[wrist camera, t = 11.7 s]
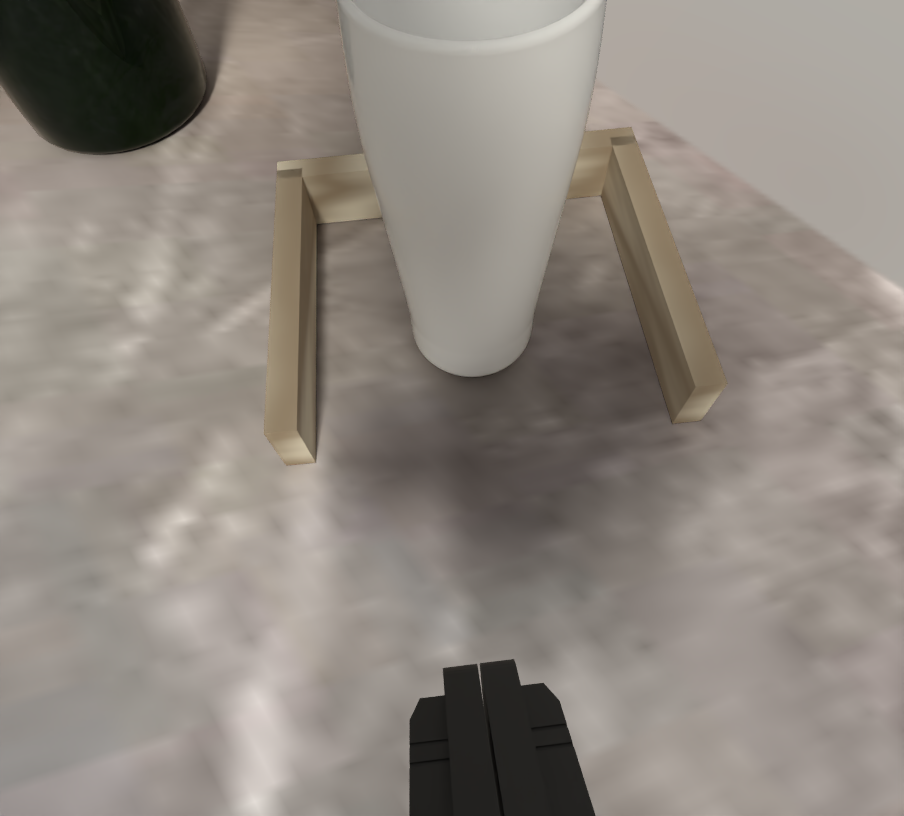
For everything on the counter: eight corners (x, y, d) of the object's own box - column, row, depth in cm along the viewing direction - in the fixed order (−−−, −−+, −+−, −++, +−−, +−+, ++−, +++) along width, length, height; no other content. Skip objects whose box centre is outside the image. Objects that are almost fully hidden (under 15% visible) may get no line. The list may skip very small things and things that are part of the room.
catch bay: (286, 465, 25) (263, 433, 22) (294, 209, 32) (277, 161, 29) (701, 420, 25) (727, 383, 22) (618, 177, 32) (631, 126, 29)
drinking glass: (543, 275, 29) (601, -108, 16) (550, 398, 26) (630, 46, 13) (402, 275, 29) (344, -102, 16) (392, 396, 26) (309, 51, 13)
